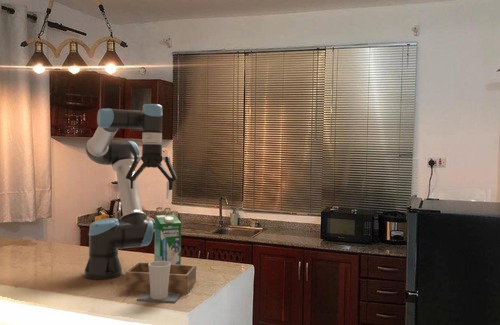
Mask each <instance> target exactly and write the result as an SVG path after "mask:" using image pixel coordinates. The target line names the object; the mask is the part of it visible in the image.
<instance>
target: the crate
mask: <svg viewBox="0 0 500 325" xmlns="http://www.w3.org/2000/svg"><path fill="white" fill-rule="evenodd" d="M149 263H150V262H137V263H136V264H135V265H134V266H132V267H131V268H130V269H128V270H127V271H126V272H125V291H131V292H150V279H149V266H148V264H149ZM196 283H197V265H196V264H195V265H194V264H193V265H192V264H181V265H177V264H171V266H170V274H169V285H168V293H175V294H181V295H183V294H185V295H188V294H189V293H190V292H191V291H192V289H193V287H194V286H195V285H196Z"/></svg>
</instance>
